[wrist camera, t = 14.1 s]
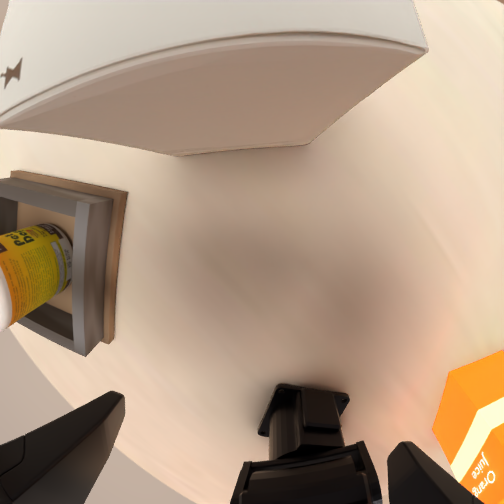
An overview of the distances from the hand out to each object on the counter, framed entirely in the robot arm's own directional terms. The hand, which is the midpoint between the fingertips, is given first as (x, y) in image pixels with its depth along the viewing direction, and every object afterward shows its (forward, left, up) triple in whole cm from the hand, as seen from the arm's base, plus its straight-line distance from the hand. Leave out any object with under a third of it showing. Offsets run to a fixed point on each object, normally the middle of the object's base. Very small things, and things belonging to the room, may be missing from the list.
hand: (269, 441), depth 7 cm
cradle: (-2, +17, -13) cm, 21 cm away
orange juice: (-7, -24, -13) cm, 28 cm away
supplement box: (+12, +5, -13) cm, 19 cm away
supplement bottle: (-2, +17, -12) cm, 21 cm away
